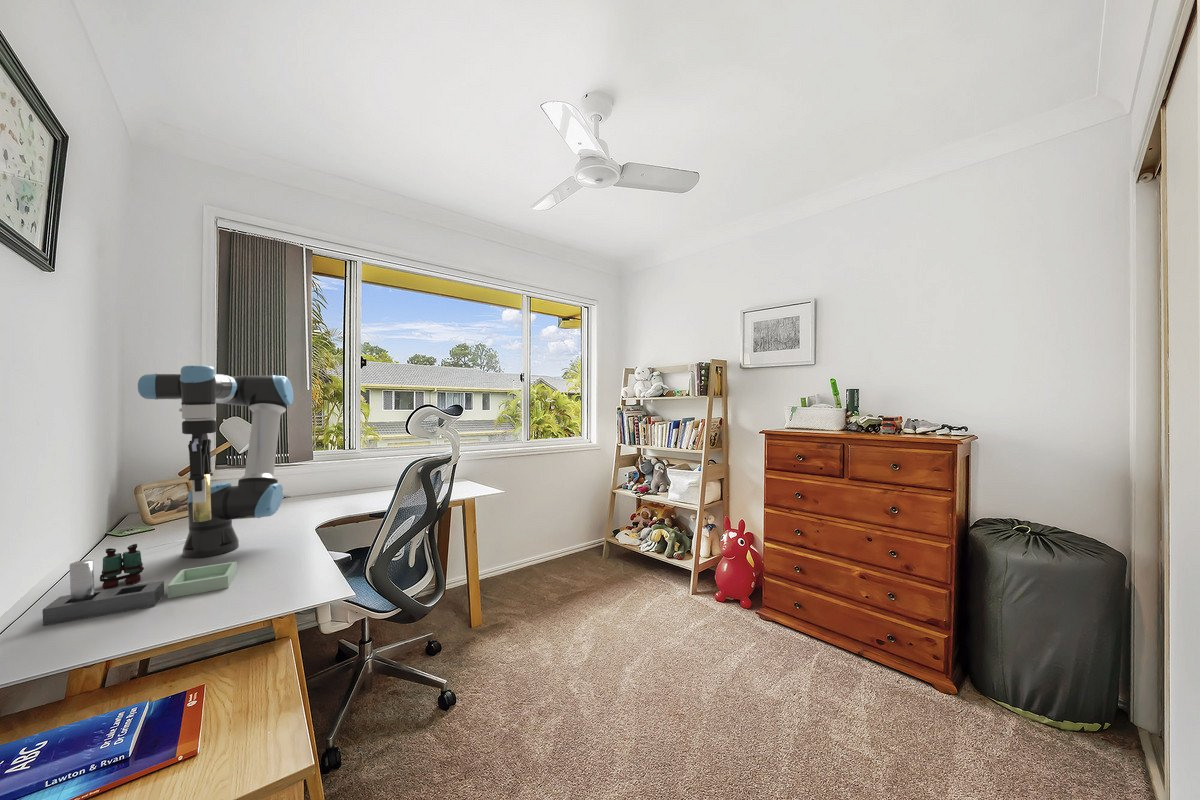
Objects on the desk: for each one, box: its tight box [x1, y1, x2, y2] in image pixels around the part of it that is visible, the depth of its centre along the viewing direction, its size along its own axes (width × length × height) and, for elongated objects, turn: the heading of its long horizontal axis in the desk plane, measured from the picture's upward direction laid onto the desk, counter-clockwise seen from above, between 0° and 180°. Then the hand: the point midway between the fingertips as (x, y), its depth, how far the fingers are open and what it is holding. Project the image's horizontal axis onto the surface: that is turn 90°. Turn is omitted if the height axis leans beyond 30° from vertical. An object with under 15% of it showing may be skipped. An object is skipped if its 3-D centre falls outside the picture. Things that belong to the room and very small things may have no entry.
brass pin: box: [191, 474, 211, 522], centre depth 135 cm, size 4×4×13 cm
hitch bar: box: [42, 579, 166, 627], centre depth 120 cm, size 8×20×4 cm, turn 119°
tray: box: [166, 561, 238, 599], centre depth 135 cm, size 13×13×3 cm
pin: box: [69, 559, 95, 603], centre depth 118 cm, size 4×4×13 cm
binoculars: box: [99, 543, 145, 590], centre depth 136 cm, size 9×11×10 cm
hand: (201, 500), depth 135 cm, fingers closed on brass pin, 4 cm apart
